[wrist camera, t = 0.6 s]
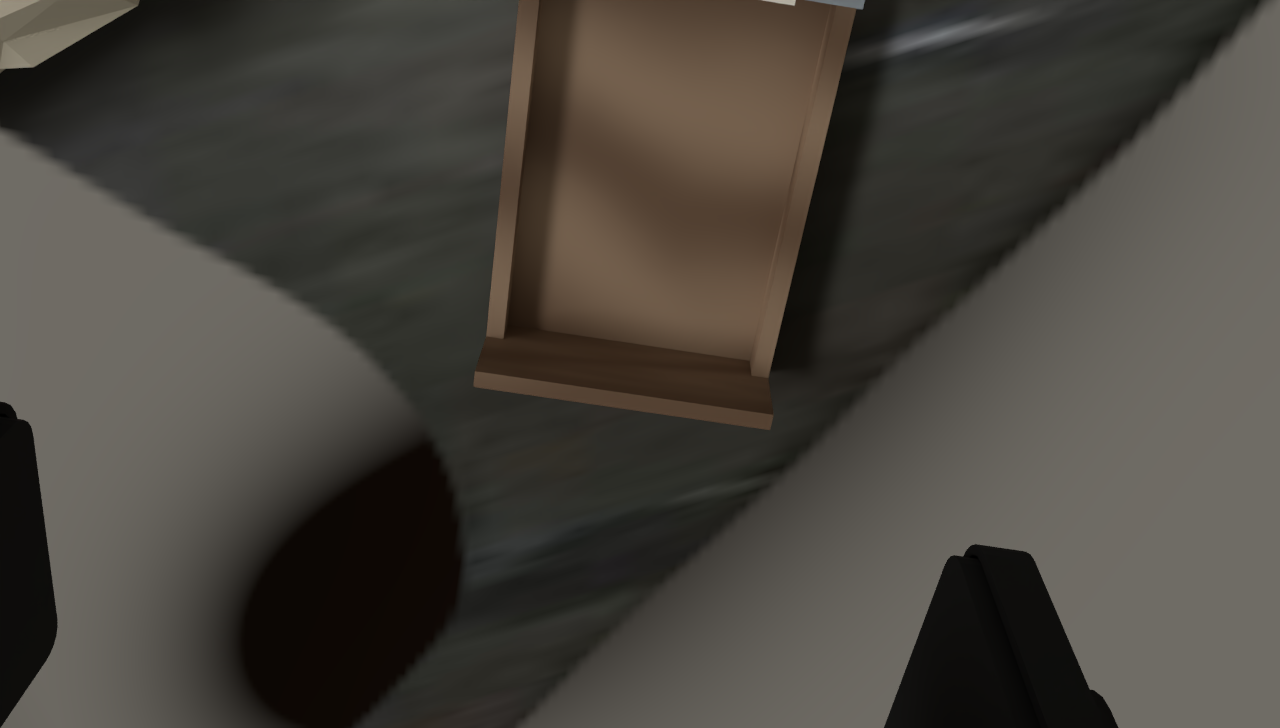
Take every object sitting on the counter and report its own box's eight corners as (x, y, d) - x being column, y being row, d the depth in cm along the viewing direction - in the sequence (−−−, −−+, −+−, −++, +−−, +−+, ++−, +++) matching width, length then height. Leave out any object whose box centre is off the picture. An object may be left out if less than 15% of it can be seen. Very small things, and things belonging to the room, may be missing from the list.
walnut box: (529, -60, 34) (513, -39, 31) (851, -7, 35) (870, 20, 31) (490, 332, 41) (473, 386, 37) (762, 372, 41) (769, 429, 38)
